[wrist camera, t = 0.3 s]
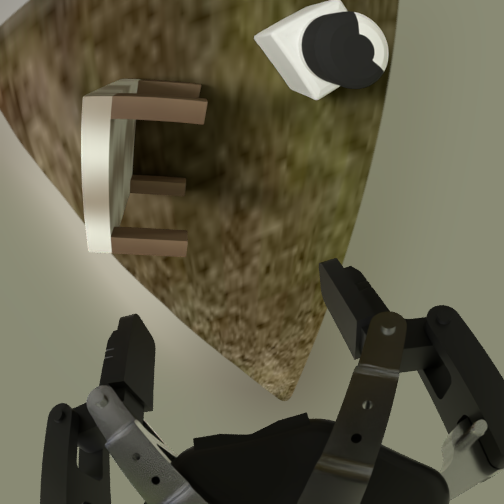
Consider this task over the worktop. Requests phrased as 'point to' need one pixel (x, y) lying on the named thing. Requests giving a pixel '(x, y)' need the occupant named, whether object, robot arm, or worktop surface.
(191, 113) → the footstool
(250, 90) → the worktop surface
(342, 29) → the medicine bottle
